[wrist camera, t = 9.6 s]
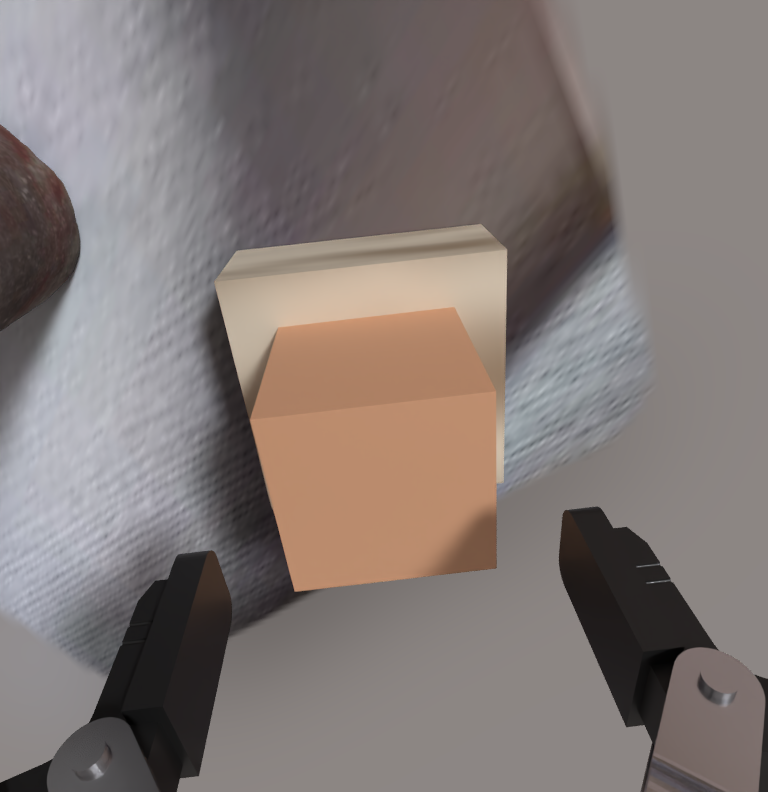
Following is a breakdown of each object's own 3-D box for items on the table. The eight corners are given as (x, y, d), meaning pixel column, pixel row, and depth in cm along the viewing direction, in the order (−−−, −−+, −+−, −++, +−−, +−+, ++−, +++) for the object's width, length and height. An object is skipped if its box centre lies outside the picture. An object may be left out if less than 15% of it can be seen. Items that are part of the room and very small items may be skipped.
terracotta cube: (278, 327, 18) (250, 419, 13) (454, 307, 18) (496, 391, 13) (308, 469, 21) (294, 591, 16) (460, 451, 21) (496, 568, 16)
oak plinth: (236, 250, 21) (214, 281, 18) (480, 224, 21) (507, 249, 18) (282, 452, 26) (271, 508, 22) (482, 429, 26) (503, 482, 22)
